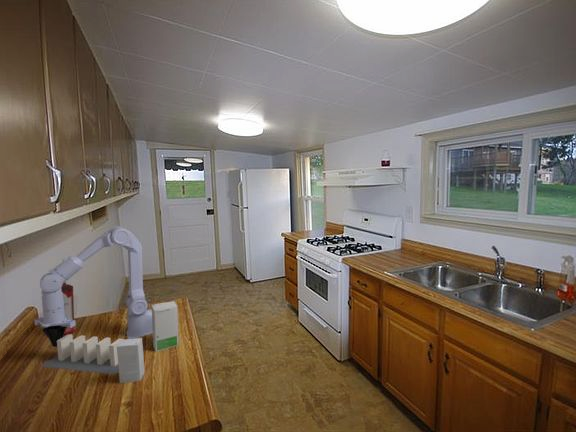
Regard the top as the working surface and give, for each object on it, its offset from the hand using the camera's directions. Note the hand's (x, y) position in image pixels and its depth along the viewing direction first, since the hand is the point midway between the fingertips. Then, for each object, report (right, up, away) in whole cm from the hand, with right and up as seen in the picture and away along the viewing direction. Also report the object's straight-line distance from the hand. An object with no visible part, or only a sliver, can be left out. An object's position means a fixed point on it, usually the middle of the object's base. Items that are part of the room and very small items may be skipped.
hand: (57, 345), depth 101 cm
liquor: (-10, -3, +17) cm, 20 cm away
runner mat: (+13, -4, -2) cm, 14 cm away
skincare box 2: (+35, -4, +7) cm, 36 cm away
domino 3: (+13, -4, -2) cm, 14 cm away
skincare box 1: (+32, -5, -12) cm, 35 cm away
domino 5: (+23, -4, -4) cm, 24 cm away
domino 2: (+8, -4, -1) cm, 9 cm away
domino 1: (+3, -4, 0) cm, 5 cm away
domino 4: (+18, -4, -3) cm, 19 cm away
